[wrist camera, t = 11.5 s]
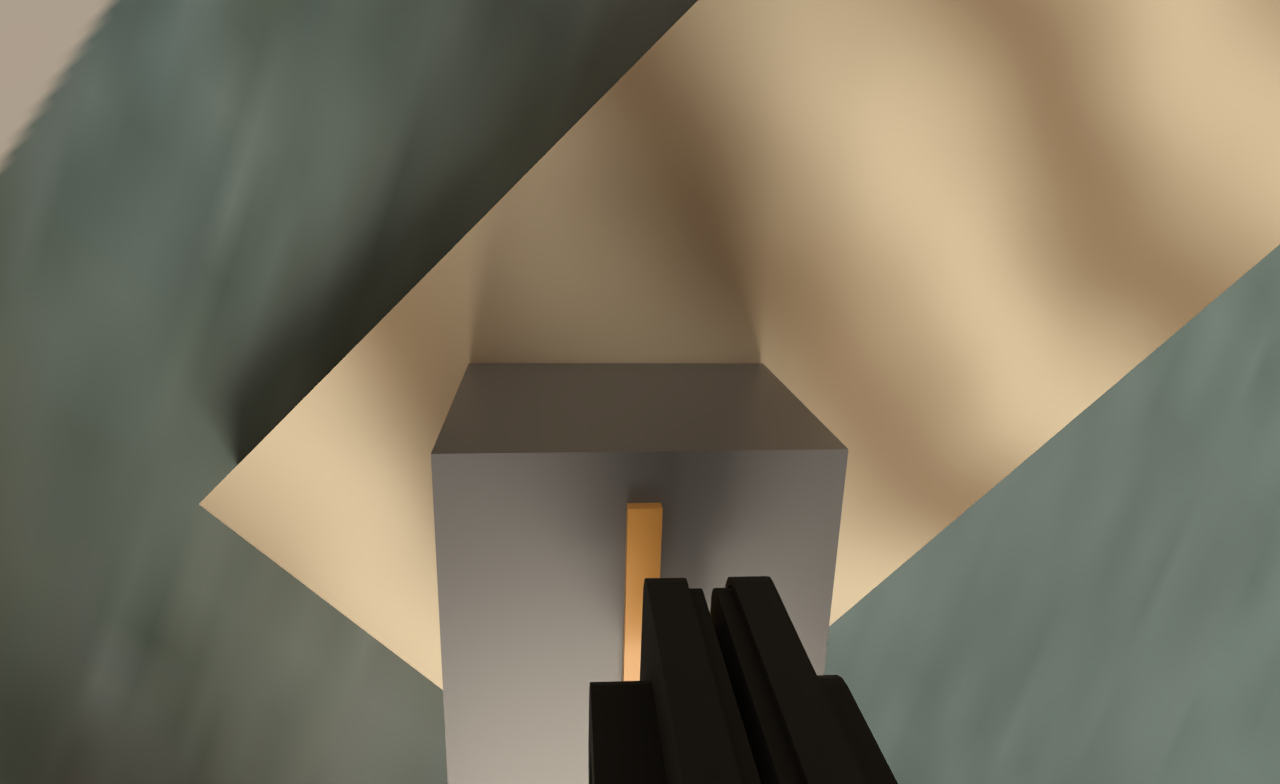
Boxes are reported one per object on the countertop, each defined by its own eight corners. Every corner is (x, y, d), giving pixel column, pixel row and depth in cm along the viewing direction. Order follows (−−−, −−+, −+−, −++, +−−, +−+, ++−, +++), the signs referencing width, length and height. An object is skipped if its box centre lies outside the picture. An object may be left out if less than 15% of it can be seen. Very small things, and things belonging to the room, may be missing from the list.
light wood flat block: (1071, -376, 15) (1350, -664, 10) (1345, 114, 18) (1663, 98, 13) (236, 467, 18) (104, 595, 13) (602, 755, 21) (616, 951, 16)
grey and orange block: (468, 362, 16) (428, 459, 11) (762, 363, 16) (853, 454, 11) (478, 626, 17) (447, 813, 12) (744, 617, 18) (815, 791, 13)
